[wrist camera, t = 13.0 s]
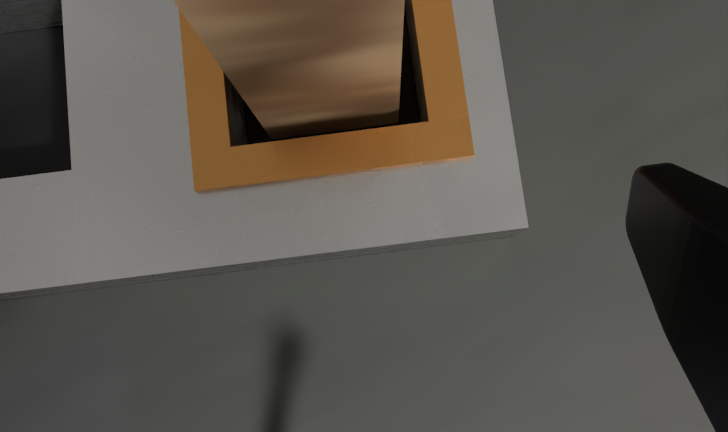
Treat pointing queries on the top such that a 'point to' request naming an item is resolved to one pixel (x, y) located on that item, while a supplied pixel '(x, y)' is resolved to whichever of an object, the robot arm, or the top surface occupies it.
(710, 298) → the robot arm
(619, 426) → the top surface
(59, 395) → the top surface
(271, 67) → the peg
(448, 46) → the grey peg hole board
